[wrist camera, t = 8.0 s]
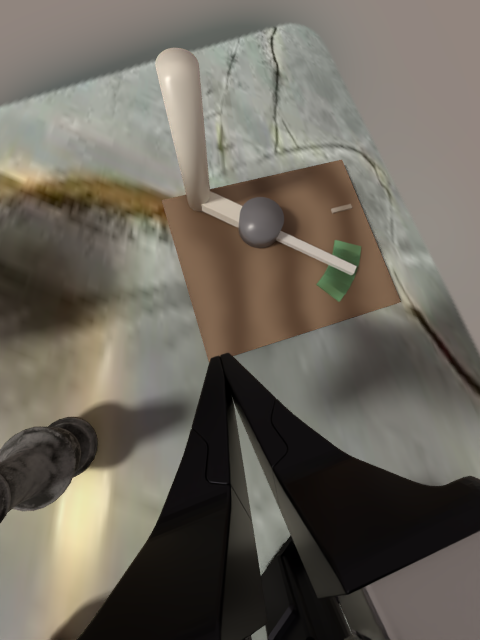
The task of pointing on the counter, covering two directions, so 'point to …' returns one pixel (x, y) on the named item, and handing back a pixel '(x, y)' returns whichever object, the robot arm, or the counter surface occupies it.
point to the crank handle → (189, 139)
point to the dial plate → (279, 262)
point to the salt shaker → (44, 463)
